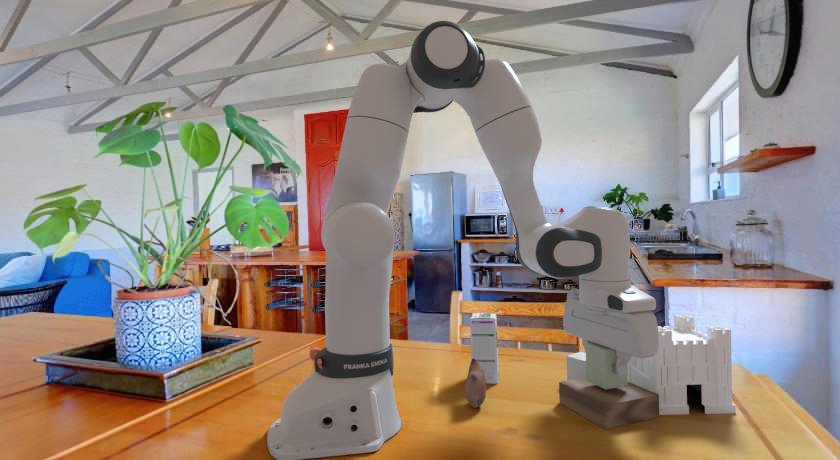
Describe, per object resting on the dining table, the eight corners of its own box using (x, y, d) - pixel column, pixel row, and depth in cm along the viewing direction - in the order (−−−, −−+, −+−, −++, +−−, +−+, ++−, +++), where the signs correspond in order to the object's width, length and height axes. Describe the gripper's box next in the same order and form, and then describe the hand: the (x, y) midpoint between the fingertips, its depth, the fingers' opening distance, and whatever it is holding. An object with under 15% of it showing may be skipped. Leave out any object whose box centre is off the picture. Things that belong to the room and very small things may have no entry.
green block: (605, 389, 77) (605, 350, 77) (586, 380, 82) (585, 343, 82) (627, 385, 79) (627, 346, 79) (607, 376, 84) (606, 340, 84)
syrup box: (498, 384, 95) (496, 317, 94) (471, 383, 96) (469, 317, 96) (498, 375, 100) (497, 312, 100) (473, 374, 101) (471, 312, 101)
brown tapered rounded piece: (465, 394, 90) (464, 355, 89) (484, 394, 89) (483, 355, 89) (465, 413, 81) (464, 370, 81) (487, 413, 80) (486, 370, 80)
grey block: (587, 390, 90) (586, 361, 90) (567, 383, 94) (566, 355, 94) (601, 384, 93) (601, 356, 93) (581, 378, 97) (580, 351, 97)
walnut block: (605, 429, 73) (604, 405, 73) (559, 402, 84) (559, 381, 84) (659, 417, 77) (658, 394, 77) (608, 393, 88) (608, 373, 88)
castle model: (687, 384, 92) (686, 313, 92) (735, 413, 78) (734, 330, 78) (620, 385, 92) (619, 315, 92) (656, 415, 78) (654, 331, 78)
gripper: (554, 288, 89) (556, 355, 89) (635, 304, 70) (636, 390, 70) (580, 286, 91) (581, 351, 91) (664, 301, 72) (666, 384, 72)
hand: (606, 368), depth 81 cm, fingers closed on green block, 5 cm apart
